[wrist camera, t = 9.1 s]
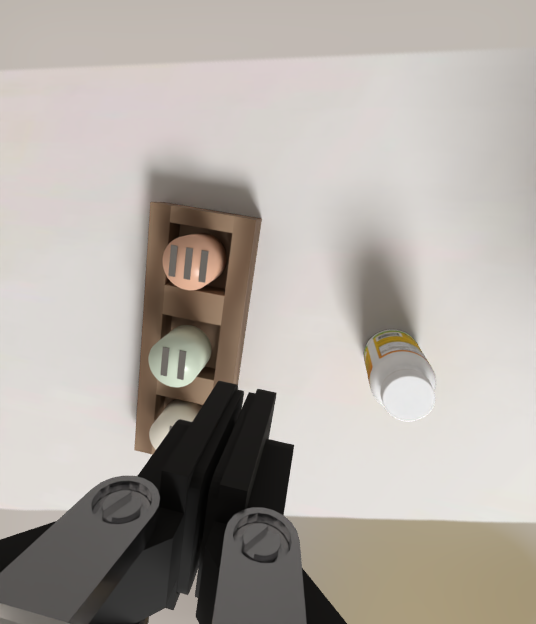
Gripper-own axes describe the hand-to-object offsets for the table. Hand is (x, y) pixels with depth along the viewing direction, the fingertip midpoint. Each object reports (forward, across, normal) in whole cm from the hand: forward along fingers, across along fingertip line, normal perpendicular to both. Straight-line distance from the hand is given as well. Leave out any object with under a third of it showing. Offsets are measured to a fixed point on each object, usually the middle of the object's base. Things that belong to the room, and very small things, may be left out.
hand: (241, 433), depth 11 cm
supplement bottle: (+29, -10, +7) cm, 32 cm away
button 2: (+26, +10, +10) cm, 30 cm away
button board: (+29, +10, +10) cm, 32 cm away
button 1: (+28, +10, +18) cm, 35 cm away
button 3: (+28, +10, 0) cm, 29 cm away
